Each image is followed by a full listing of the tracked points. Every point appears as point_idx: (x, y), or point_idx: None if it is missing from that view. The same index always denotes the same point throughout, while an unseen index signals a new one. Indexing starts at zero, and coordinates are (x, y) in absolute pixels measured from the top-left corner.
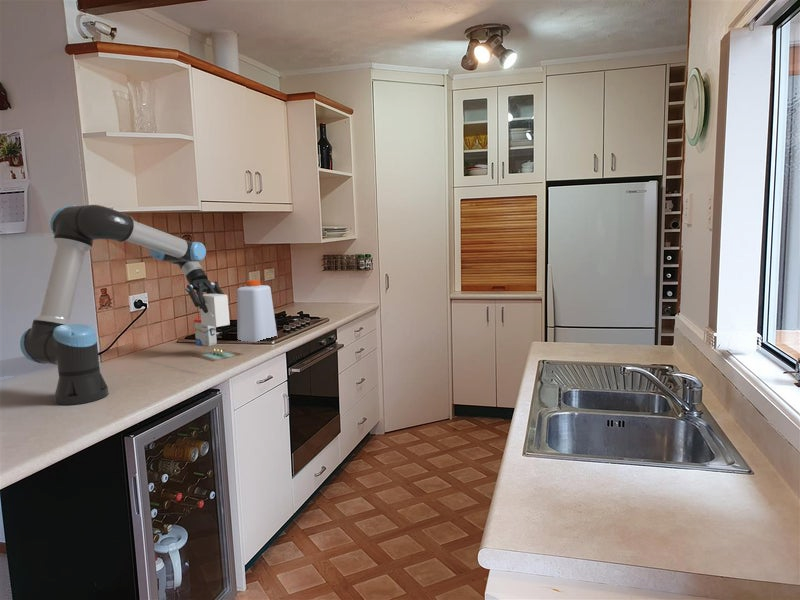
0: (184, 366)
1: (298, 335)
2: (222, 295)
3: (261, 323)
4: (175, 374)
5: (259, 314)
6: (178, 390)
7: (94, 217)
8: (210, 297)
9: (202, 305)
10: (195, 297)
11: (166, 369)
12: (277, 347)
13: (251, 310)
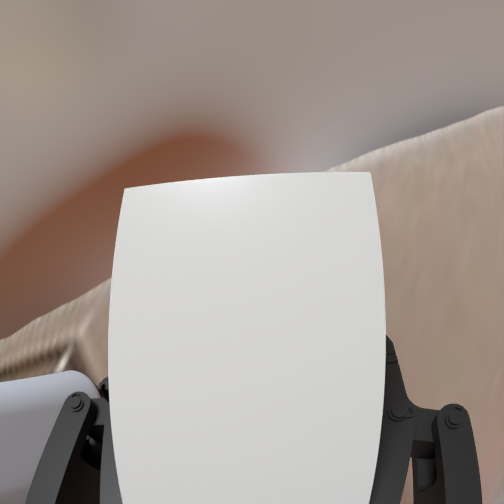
0: (421, 330)
1: (7, 358)
2: (202, 180)
3: (37, 381)
4: (470, 254)
5: (13, 388)
6: (482, 127)
7: None
8: (378, 284)
9: (405, 392)
10: (471, 484)
11: (465, 339)
12: (91, 294)
13: (14, 421)
